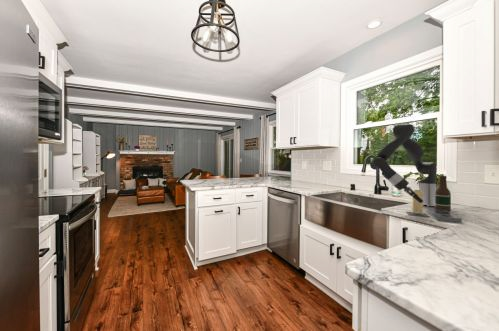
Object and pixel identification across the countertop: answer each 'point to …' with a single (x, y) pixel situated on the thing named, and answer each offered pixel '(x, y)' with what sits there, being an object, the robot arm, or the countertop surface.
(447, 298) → the countertop surface
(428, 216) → the rubber mat
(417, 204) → the wooden square peg
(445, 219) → the grey slotted plate
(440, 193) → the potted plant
